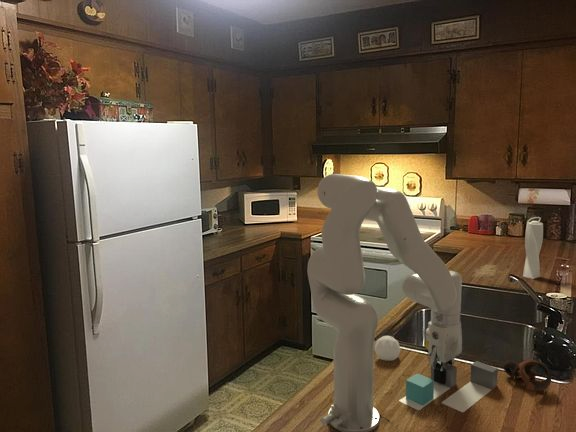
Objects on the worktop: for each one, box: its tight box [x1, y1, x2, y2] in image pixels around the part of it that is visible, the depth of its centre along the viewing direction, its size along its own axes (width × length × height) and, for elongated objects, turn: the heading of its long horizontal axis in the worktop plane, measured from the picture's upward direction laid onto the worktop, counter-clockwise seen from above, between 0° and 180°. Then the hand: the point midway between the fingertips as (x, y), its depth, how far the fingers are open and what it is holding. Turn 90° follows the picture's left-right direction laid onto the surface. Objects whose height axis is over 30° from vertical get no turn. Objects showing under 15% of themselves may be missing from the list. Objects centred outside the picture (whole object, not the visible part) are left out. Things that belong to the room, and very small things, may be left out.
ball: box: [373, 335, 401, 362], centre depth 147 cm, size 8×8×8 cm
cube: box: [405, 373, 434, 406], centre depth 124 cm, size 5×5×5 cm
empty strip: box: [441, 360, 499, 413], centre depth 126 cm, size 18×6×6 cm, turn 132°
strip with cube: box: [398, 361, 458, 411], centre depth 127 cm, size 18×6×6 cm, turn 132°
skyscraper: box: [522, 216, 544, 280], centre depth 223 cm, size 8×8×28 cm
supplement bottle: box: [424, 320, 432, 352], centre depth 152 cm, size 5×5×10 cm
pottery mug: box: [502, 359, 552, 392], centre depth 131 cm, size 12×10×8 cm
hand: (443, 379), depth 132 cm, fingers open, 3 cm apart
